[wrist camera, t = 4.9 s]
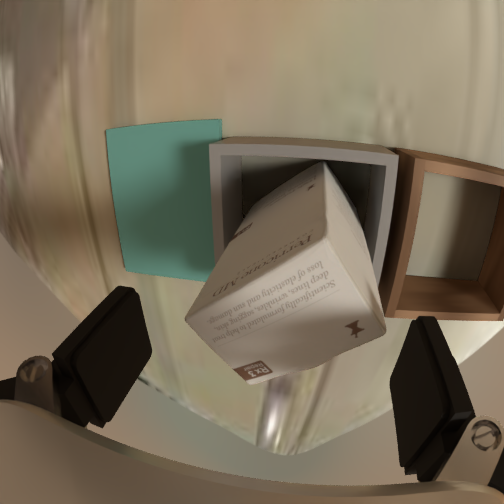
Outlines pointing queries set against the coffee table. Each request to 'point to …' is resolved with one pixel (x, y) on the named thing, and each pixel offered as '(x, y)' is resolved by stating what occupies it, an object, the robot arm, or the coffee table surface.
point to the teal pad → (164, 196)
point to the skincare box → (291, 283)
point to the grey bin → (231, 149)
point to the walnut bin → (401, 239)
